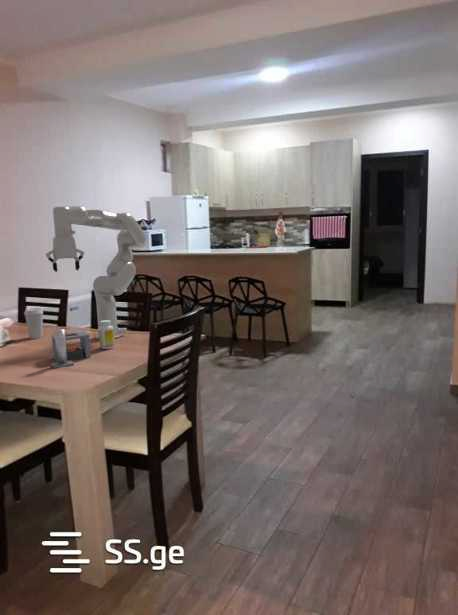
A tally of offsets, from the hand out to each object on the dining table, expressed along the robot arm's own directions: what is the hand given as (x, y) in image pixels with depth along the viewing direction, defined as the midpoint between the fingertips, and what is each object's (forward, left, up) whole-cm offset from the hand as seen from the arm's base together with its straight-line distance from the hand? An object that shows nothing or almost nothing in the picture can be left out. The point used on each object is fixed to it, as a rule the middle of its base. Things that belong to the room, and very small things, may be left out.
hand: (66, 270), depth 235 cm
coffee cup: (+12, -33, -36) cm, 51 cm away
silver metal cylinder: (+11, +32, -36) cm, 49 cm away
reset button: (+5, +22, -35) cm, 41 cm away
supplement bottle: (-13, +13, -36) cm, 41 cm away
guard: (+5, +22, -36) cm, 42 cm away
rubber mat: (+11, +32, -36) cm, 49 cm away
